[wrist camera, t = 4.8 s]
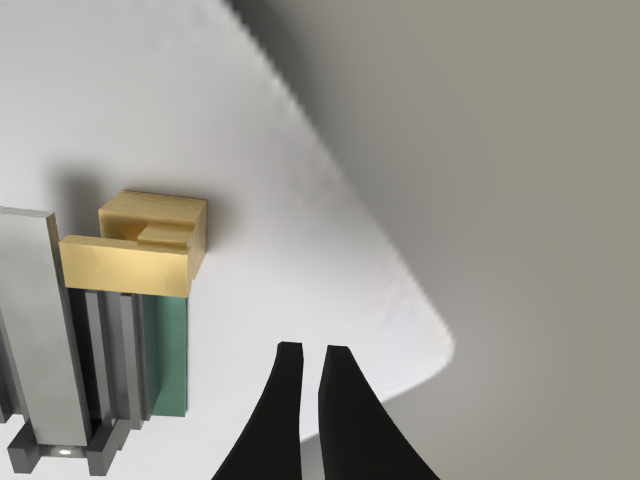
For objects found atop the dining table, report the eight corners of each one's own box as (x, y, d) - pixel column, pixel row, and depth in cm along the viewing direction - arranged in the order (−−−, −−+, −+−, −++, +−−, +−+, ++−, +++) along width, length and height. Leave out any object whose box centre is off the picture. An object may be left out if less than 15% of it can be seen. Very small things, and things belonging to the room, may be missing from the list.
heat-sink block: (-42, 237, 19) (-97, 267, 16) (186, 259, 20) (170, 290, 18) (5, 401, 24) (-32, 446, 21) (186, 411, 25) (173, 454, 23)
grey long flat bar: (-12, 202, 15) (-30, 212, 14) (57, 210, 15) (42, 220, 15) (49, 443, 22) (38, 460, 21) (96, 445, 22) (87, 462, 21)
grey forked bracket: (55, 381, 24) (7, 448, 20) (133, 386, 24) (102, 452, 20) (61, 412, 25) (16, 481, 21) (136, 416, 25) (106, 484, 21)
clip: (111, 188, 19) (56, 230, 14) (211, 200, 19) (187, 243, 15) (116, 244, 20) (67, 297, 15) (209, 253, 20) (187, 307, 16)
